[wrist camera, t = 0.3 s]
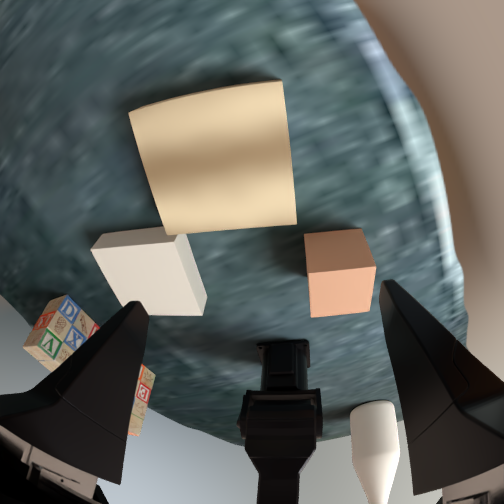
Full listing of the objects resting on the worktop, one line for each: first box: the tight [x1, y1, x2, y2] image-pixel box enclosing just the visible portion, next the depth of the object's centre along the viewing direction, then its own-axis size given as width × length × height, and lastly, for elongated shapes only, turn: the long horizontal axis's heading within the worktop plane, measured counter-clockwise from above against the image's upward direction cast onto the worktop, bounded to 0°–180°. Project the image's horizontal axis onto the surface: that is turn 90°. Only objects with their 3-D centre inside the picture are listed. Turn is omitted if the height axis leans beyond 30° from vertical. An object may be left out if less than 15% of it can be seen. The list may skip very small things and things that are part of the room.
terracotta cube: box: [304, 229, 376, 317], centre depth 23 cm, size 5×5×5 cm
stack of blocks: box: [23, 295, 155, 436], centre depth 34 cm, size 21×6×12 cm, turn 24°
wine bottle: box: [350, 400, 400, 504], centre depth 36 cm, size 10×10×30 cm
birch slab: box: [129, 79, 297, 235], centre depth 19 cm, size 10×10×3 cm
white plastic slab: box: [91, 226, 207, 316], centre depth 27 cm, size 9×9×3 cm
